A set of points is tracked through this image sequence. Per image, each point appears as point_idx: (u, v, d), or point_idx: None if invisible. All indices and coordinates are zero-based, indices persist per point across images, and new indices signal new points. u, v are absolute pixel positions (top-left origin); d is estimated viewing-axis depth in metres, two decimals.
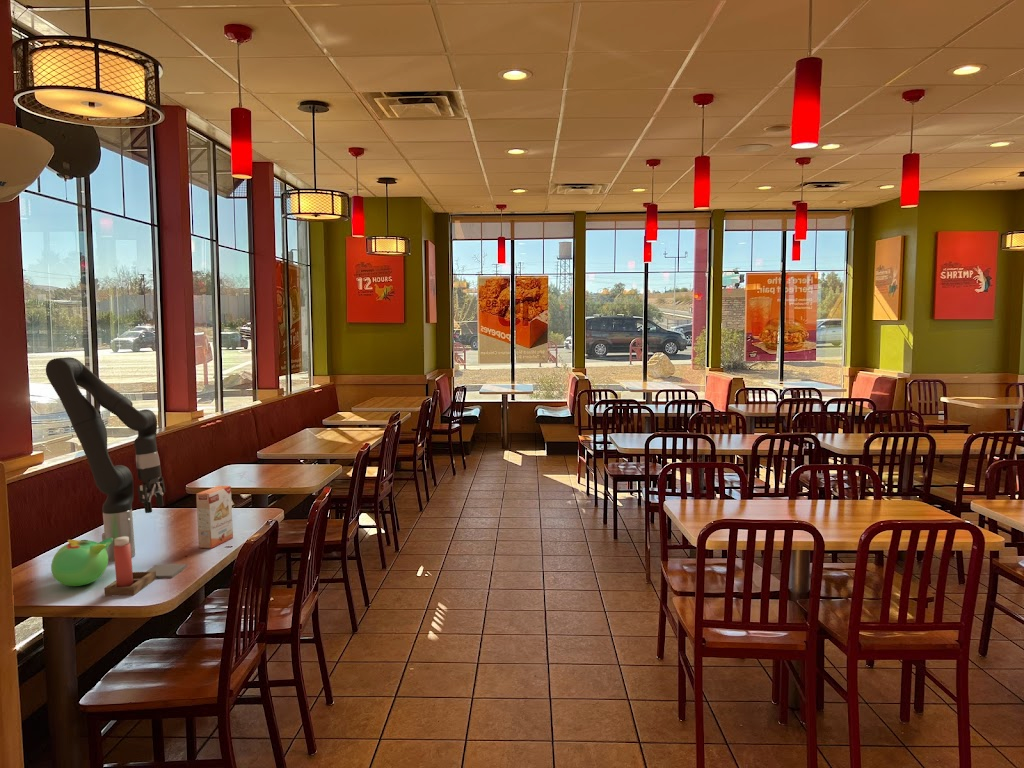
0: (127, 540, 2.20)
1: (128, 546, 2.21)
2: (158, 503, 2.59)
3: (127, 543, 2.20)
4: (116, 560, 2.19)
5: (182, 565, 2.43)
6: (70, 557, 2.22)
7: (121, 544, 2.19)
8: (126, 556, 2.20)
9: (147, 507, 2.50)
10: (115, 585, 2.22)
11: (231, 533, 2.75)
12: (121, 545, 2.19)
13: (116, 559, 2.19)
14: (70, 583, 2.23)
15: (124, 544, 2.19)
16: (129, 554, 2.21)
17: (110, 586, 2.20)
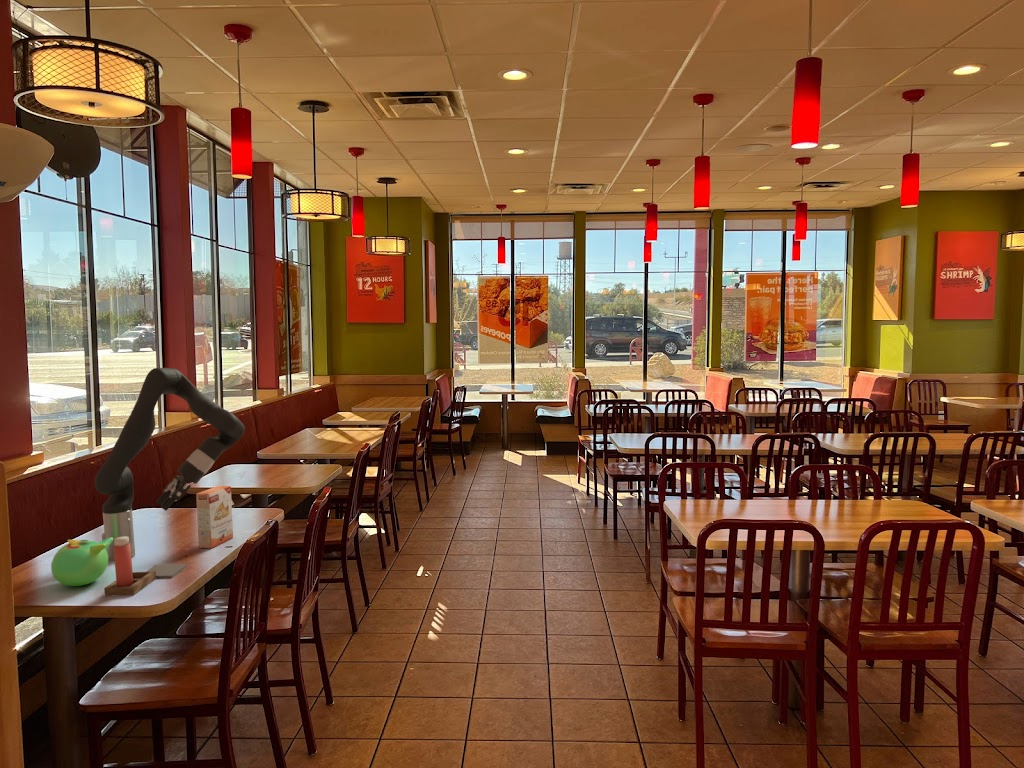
0: (127, 540, 2.20)
1: (128, 546, 2.21)
2: (160, 500, 2.30)
3: (127, 543, 2.20)
4: (116, 560, 2.19)
5: (182, 565, 2.43)
6: (70, 557, 2.22)
7: (121, 544, 2.19)
8: (126, 556, 2.20)
9: (169, 504, 2.23)
10: (115, 585, 2.22)
11: (231, 533, 2.75)
12: (121, 545, 2.19)
13: (116, 559, 2.19)
14: (70, 583, 2.23)
15: (124, 544, 2.20)
16: (129, 554, 2.21)
17: (110, 586, 2.20)
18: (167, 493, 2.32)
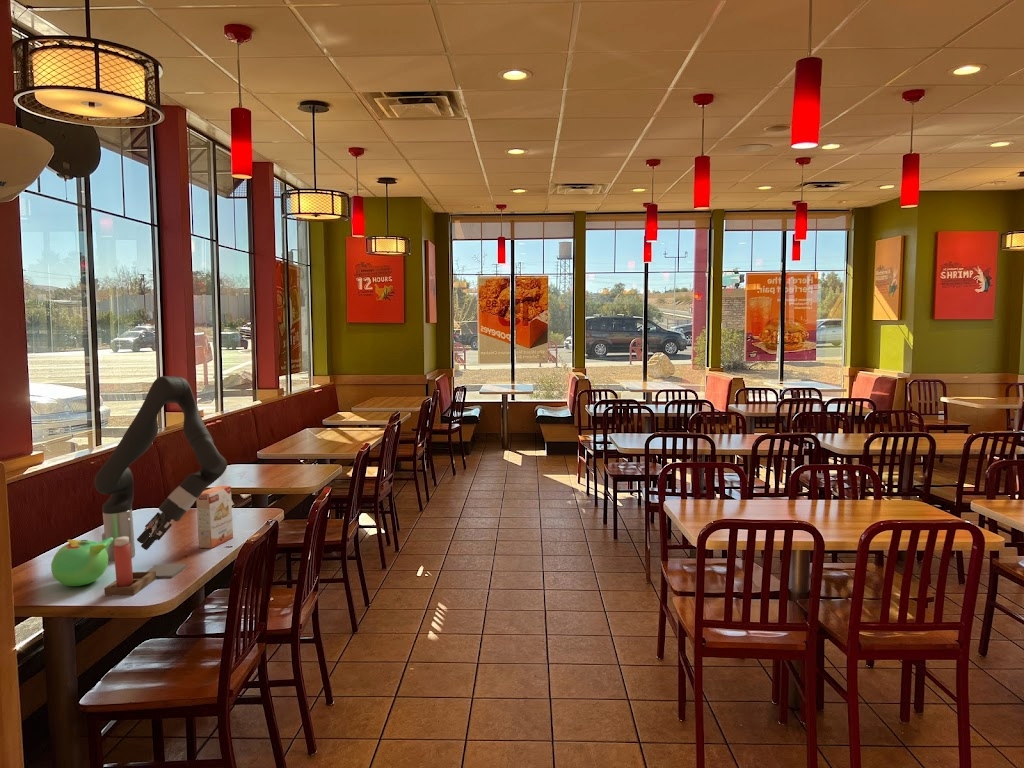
0: (127, 540, 2.20)
1: (128, 546, 2.21)
2: (141, 538, 2.28)
3: (127, 543, 2.20)
4: (116, 560, 2.19)
5: (182, 565, 2.43)
6: (70, 557, 2.22)
7: (121, 544, 2.19)
8: (126, 556, 2.20)
9: (149, 544, 2.21)
10: (115, 585, 2.22)
11: (231, 533, 2.75)
12: (121, 545, 2.19)
13: (116, 559, 2.19)
14: (70, 583, 2.23)
15: (124, 544, 2.19)
16: (129, 554, 2.21)
17: (110, 586, 2.20)
18: (148, 531, 2.29)
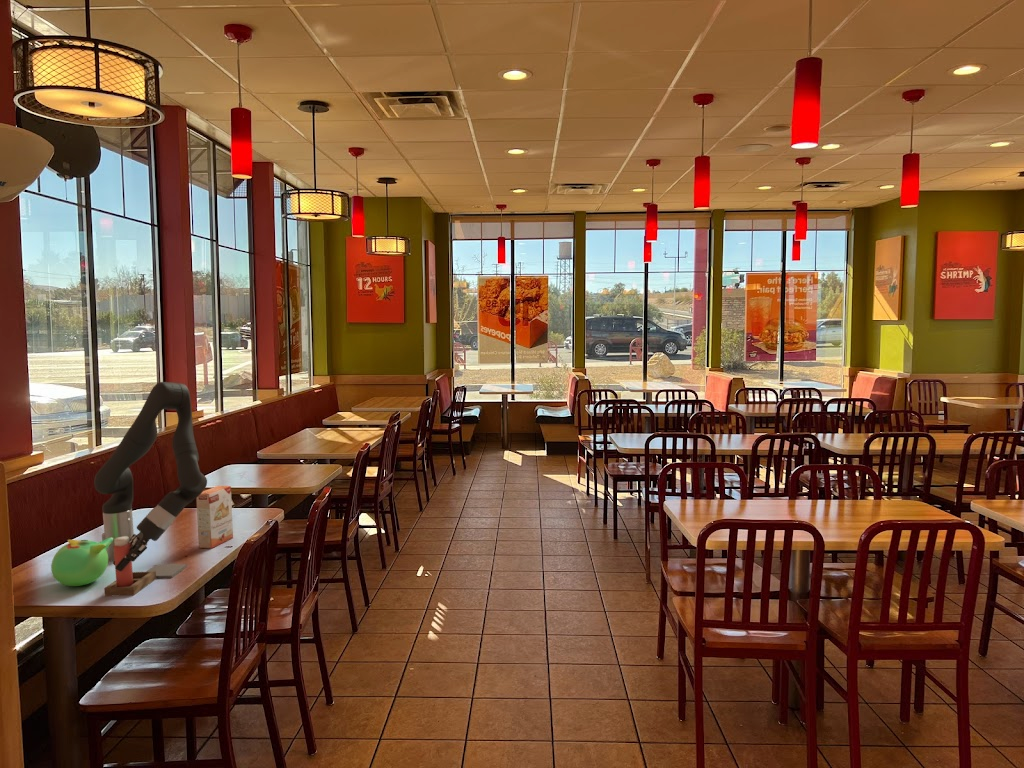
0: (127, 540, 2.20)
1: (128, 546, 2.21)
2: None
3: (127, 543, 2.20)
4: (116, 560, 2.19)
5: (182, 565, 2.43)
6: (70, 557, 2.22)
7: (121, 544, 2.19)
8: None
9: (124, 565, 2.18)
10: (115, 585, 2.22)
11: (231, 533, 2.75)
12: (121, 545, 2.19)
13: (116, 559, 2.19)
14: (70, 583, 2.23)
15: (124, 544, 2.19)
16: None
17: (110, 586, 2.20)
18: None
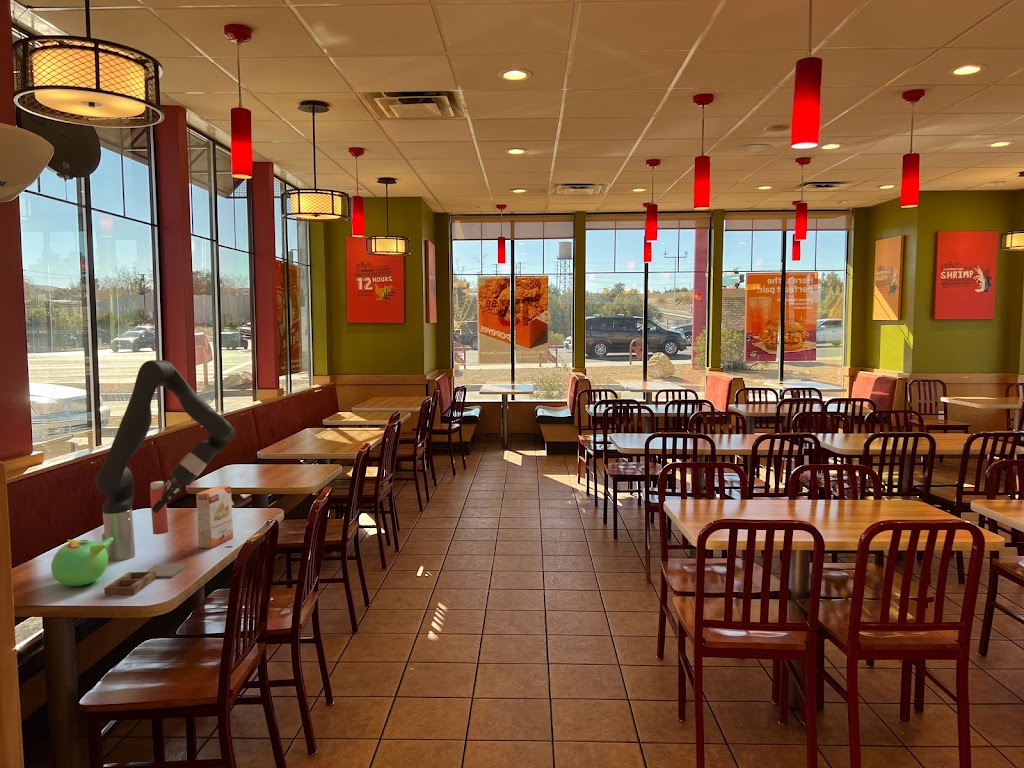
0: (162, 484, 2.36)
1: (163, 490, 2.36)
2: None
3: (162, 487, 2.36)
4: (152, 502, 2.34)
5: (182, 565, 2.43)
6: (70, 557, 2.22)
7: (157, 487, 2.34)
8: None
9: (159, 507, 2.34)
10: (115, 585, 2.22)
11: (231, 533, 2.75)
12: (157, 488, 2.34)
13: (152, 501, 2.34)
14: (70, 583, 2.23)
15: (160, 488, 2.35)
16: None
17: (110, 586, 2.20)
18: None
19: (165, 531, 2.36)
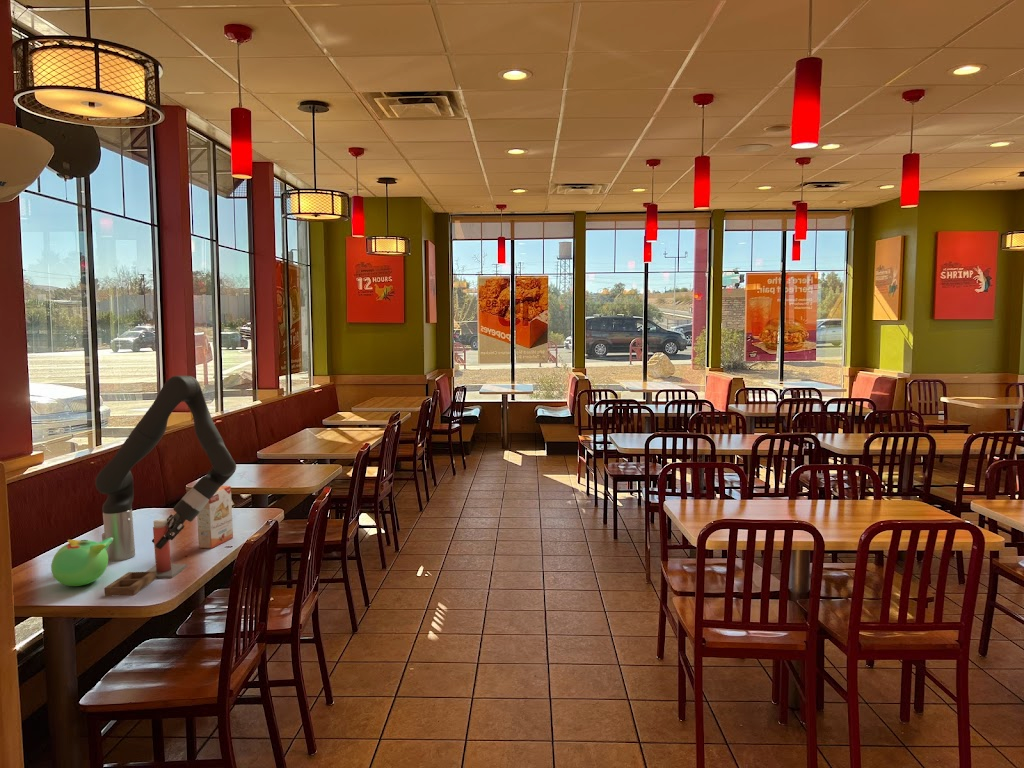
0: (165, 522, 2.37)
1: None
2: None
3: (165, 525, 2.37)
4: (155, 541, 2.36)
5: (182, 565, 2.43)
6: (70, 557, 2.22)
7: (160, 526, 2.36)
8: None
9: (163, 543, 2.34)
10: (115, 585, 2.22)
11: (231, 533, 2.75)
12: (160, 527, 2.35)
13: (155, 540, 2.36)
14: (70, 583, 2.23)
15: (163, 526, 2.36)
16: None
17: (110, 586, 2.20)
18: None
19: (168, 569, 2.38)
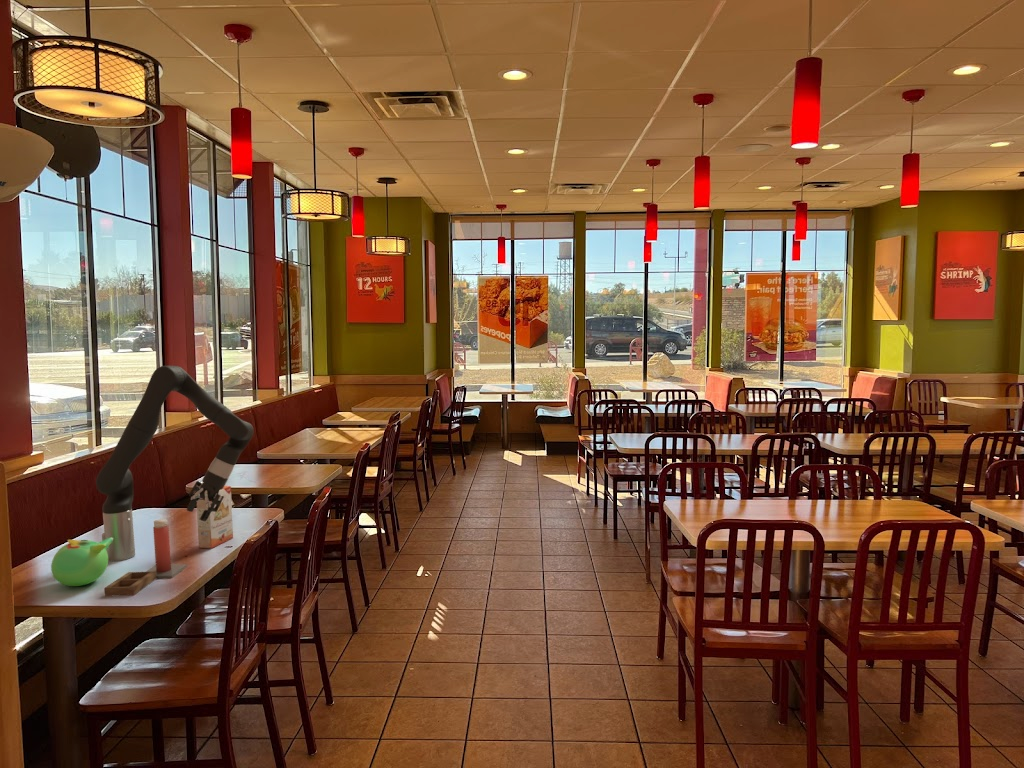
0: (166, 522, 2.37)
1: (167, 528, 2.37)
2: (190, 507, 2.47)
3: (166, 525, 2.37)
4: (156, 541, 2.36)
5: (182, 565, 2.43)
6: (70, 557, 2.22)
7: (160, 526, 2.35)
8: (165, 537, 2.36)
9: (207, 516, 2.43)
10: (115, 585, 2.22)
11: (231, 533, 2.75)
12: (160, 527, 2.35)
13: (156, 540, 2.36)
14: (70, 583, 2.23)
15: (163, 526, 2.36)
16: (167, 535, 2.37)
17: (110, 586, 2.20)
18: (194, 500, 2.48)
19: (168, 569, 2.38)
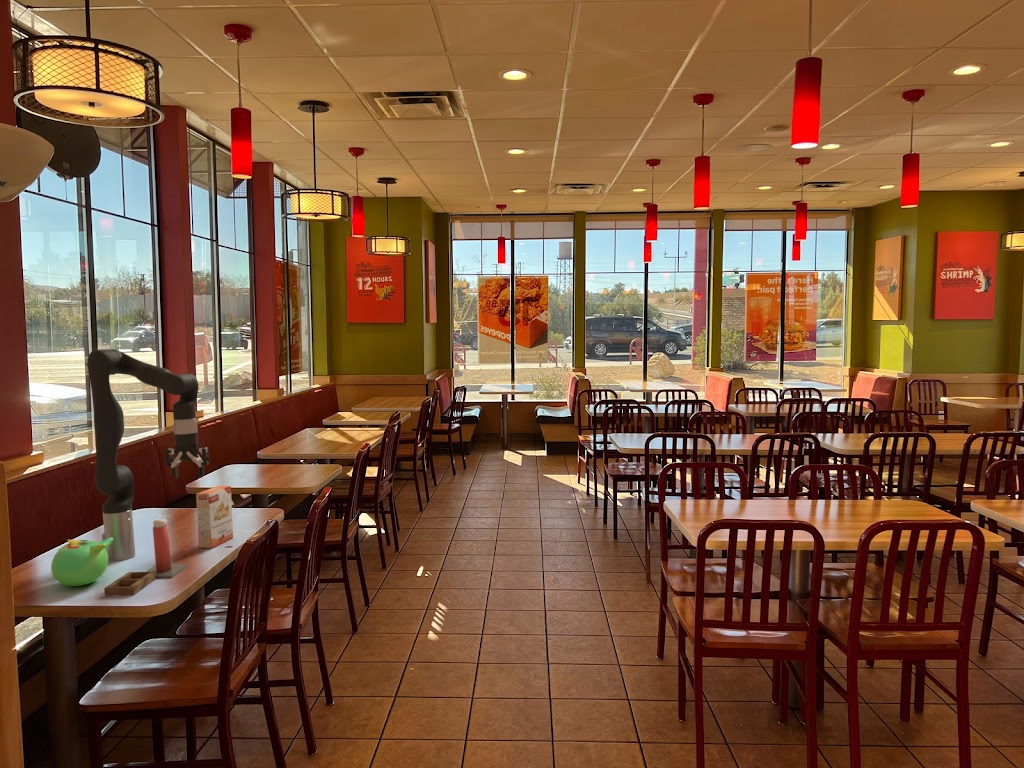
0: (165, 522, 2.37)
1: (166, 528, 2.37)
2: (176, 474, 2.46)
3: (165, 525, 2.37)
4: (155, 541, 2.36)
5: (182, 565, 2.43)
6: (70, 557, 2.22)
7: (160, 526, 2.36)
8: (165, 537, 2.36)
9: (203, 471, 2.46)
10: (115, 585, 2.22)
11: (231, 533, 2.75)
12: (160, 527, 2.36)
13: (155, 540, 2.36)
14: (70, 583, 2.23)
15: (162, 526, 2.36)
16: (167, 535, 2.37)
17: (110, 586, 2.20)
18: (175, 466, 2.46)
19: (168, 569, 2.38)
